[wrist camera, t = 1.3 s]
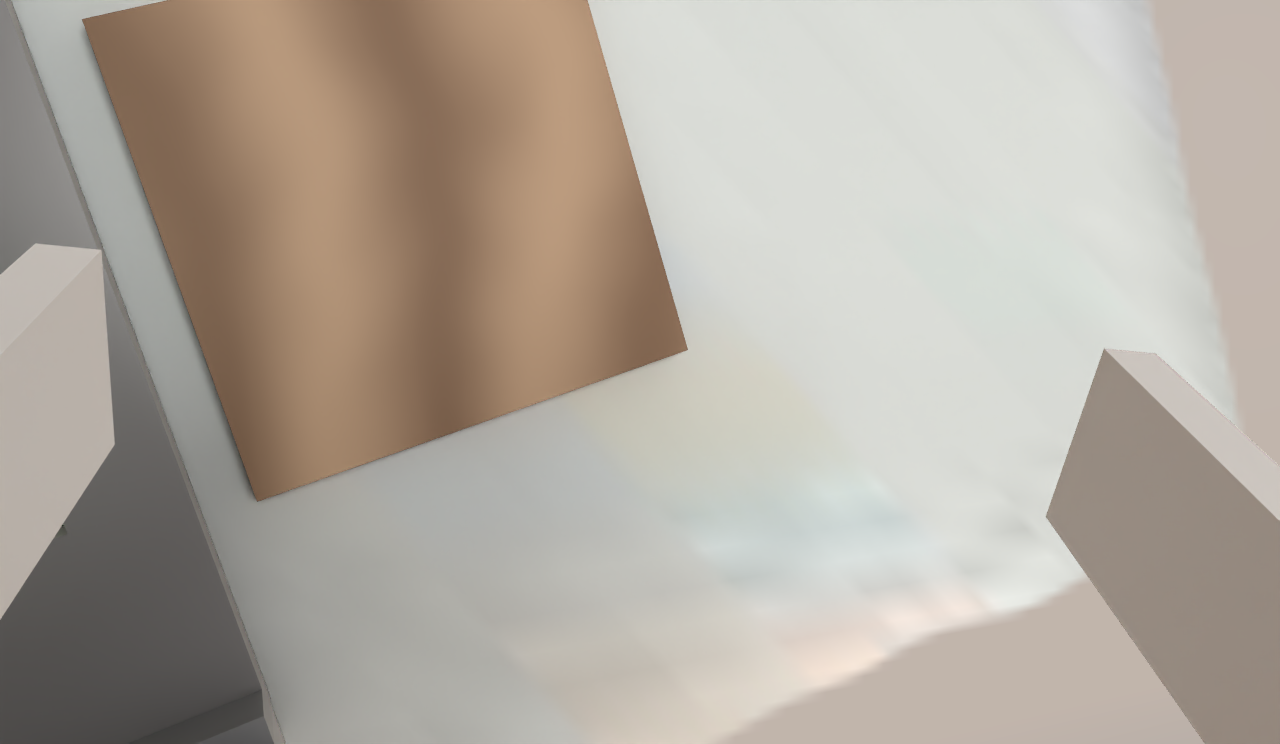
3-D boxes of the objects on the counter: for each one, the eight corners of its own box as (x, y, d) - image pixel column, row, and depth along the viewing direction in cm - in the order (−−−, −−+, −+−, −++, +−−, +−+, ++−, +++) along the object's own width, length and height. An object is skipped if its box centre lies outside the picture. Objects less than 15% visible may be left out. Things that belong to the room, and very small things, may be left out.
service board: (256, 495, 32) (257, 501, 31) (86, 27, 30) (82, 19, 29) (675, 348, 36) (687, 350, 35) (553, -77, 34) (562, -87, 33)
